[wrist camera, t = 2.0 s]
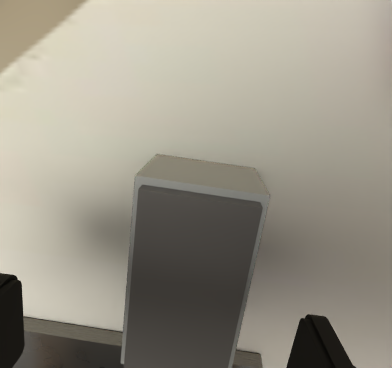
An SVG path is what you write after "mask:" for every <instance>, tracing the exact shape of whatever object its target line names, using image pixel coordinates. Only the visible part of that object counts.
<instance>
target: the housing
mask: <svg viewBox="0 0 392 368" xmlns="http://www.w3.org/2000/svg"><path fill="white" fill-rule="evenodd" d="M269 199H270V194H269V193H268V191H267V189H266V187H265V186H264V184H263V182H262V180H261V178H260V177H259V175H258V173H257V171H256V169H255V168H248V167H241V166H235V165H228V164H221V163H214V162H207V161H201V160H194V159H187V158H180V157H174V156H167V155H160V154H157V155H156V156H155V157H154V158H152V159H151V160H150V161H149V162H148V163H147V164H146V165H145V166H144V167H143V168H142V169H141V170H140V171H139V172H138V173H137V174H136V175H135V182H134V195H133V208H132V221H131V234H130V247H129V260H128V273H127V286H126V299H125V312H124V325H123V338H122V351H121V364H124V368H232V365H233V360H234V356H235V351H236V347H237V342H238V338H239V333H240V329H241V324H242V320H243V315H244V311H245V306H246V302H247V297H248V293H249V288H250V284H251V279H252V275H253V270H254V266H255V261H256V257H257V253H258V248H259V244H260V239H261V235H262V230H263V226H264V221H265V217H266V212H267V208H268V203H269Z"/></svg>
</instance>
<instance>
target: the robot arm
mask: <svg viewBox="0 0 392 368" xmlns="http://www.w3.org/2000/svg"><path fill="white" fill-rule="evenodd" d="M24 346H25V340H24V321H23V301H22V284H21V281H19V280H18V279H17V277H16V276H15V275H10V274H2V273H0V368H13V366H14V365H15V364H16V362H17V361H18V359H19V358H20V356H21V355H22V353H23V350H24ZM286 368H356V367H355V366H353V364H352V363H351V361H350V359H349V357H348V355H347V353H346V352H345V350H344V348H343V346H342V344H341V342H340V341H339V339H338V337H337V335H336V333H335V331H334V330H333V328H332V326H331V324H330V322H329V320H328V319H327V318H326V317H325V316H317V315H310V314H308V315H306V317H305V319H304V318H301V319H300V322H299V325H298V329H297V332H296V336H295V339H294V343H293V346H292V350H291V353H290V357H289V360H288V364H287V367H286Z"/></svg>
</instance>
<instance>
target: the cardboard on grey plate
mask: <svg viewBox="0 0 392 368" xmlns="http://www.w3.org/2000/svg"><path fill="white" fill-rule="evenodd" d="M23 321H24V340H25V346H24V350H23V353H22V355H21V356H20V358H19V359H18V361H17V362H16V364H15V365H14V366H13V368H124V364H121V351H122V338H123V332H116V331H110V330H103V329H97V328H91V327H84V326H78V325H72V324H65V323H59V322H53V321H46V320H40V319H34V318H27V317H23ZM232 368H263V367H262V361H261V355H260V354H256V353H249V352H243V351H237V350H236V351H235V356H234V360H233V365H232Z"/></svg>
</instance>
